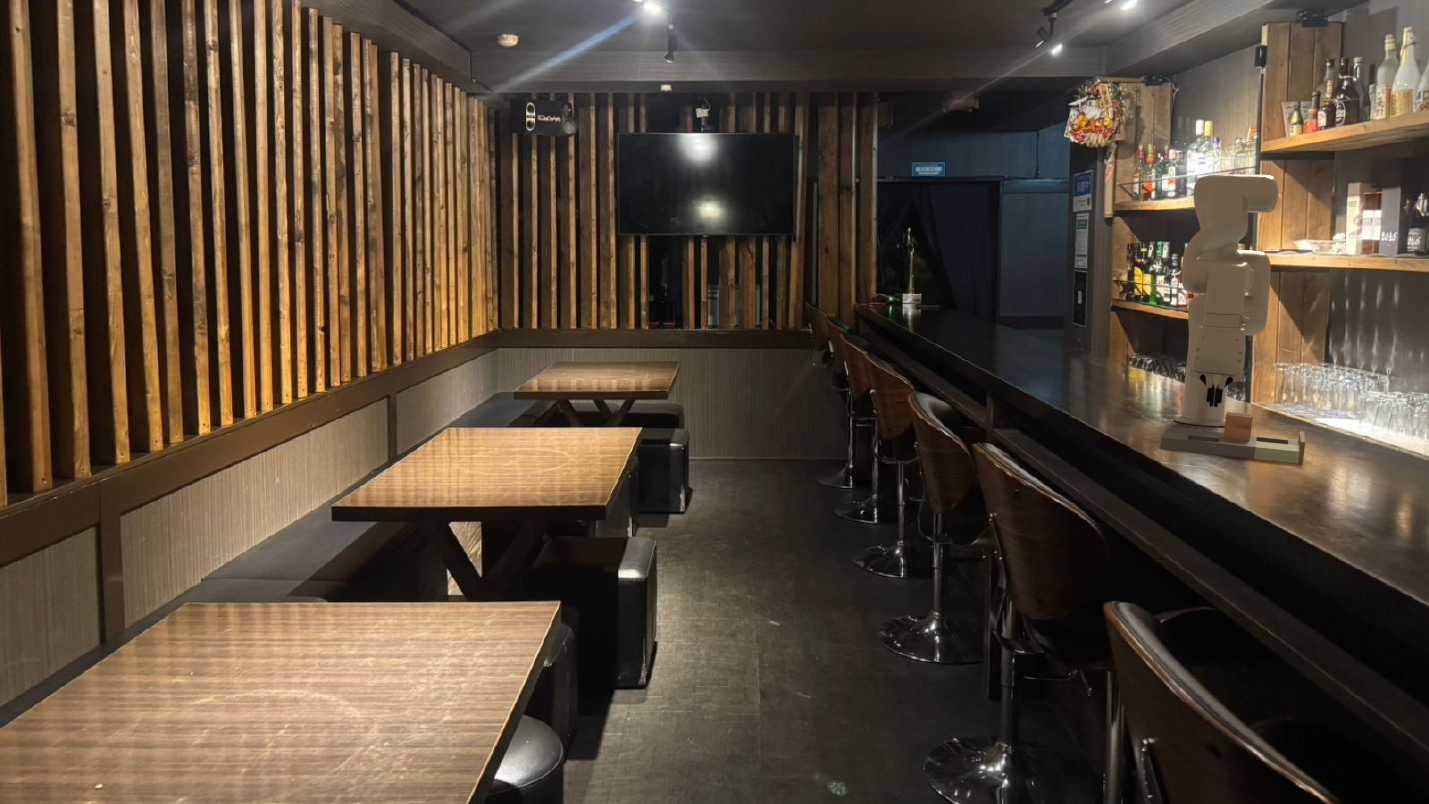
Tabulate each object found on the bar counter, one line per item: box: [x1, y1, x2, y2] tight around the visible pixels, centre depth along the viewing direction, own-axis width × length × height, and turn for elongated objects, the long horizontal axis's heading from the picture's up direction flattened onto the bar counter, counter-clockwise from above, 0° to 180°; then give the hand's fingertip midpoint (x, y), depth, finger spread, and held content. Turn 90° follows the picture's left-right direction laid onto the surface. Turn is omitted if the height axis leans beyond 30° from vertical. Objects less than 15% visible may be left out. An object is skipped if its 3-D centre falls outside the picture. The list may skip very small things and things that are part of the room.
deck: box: [1159, 427, 1306, 465], centre depth 235 cm, size 15×27×4 cm, turn 63°
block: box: [1223, 411, 1254, 441], centre depth 236 cm, size 5×5×5 cm
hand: (1213, 405), depth 240 cm, fingers closed
